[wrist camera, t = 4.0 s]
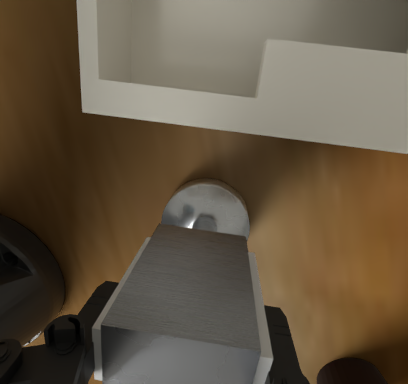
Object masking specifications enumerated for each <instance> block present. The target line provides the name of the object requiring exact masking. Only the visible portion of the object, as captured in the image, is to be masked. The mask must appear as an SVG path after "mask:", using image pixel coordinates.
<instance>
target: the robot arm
mask: <svg viewBox="0 0 408 384" xmlns="http://www.w3.org/2000/svg"><path fill="white" fill-rule="evenodd" d="M150 238H151V237H147V238H146V240H145V241H144V243H143V245H142V246H141V248H140V250H139V251H138V253H137V255H136V256H135V258H134V259H133V261H132V263H131V264H130V266H129V268H128V269H127V271H126V273H125V274H124V276H123V278H122V279H121V281H120V283H116V282H110V281H105V282H104V283H103V284H101V285H100V286H98V287H97V288H96V290H95V291H94V293H93V294H92V295H91V297H90V298H89V300H88V301H87V303H86V304H85V305H84V307H83V308H82V309H81V311H80V312H79V314H78V315H72V314H69V315H63V316H60V317H58V318H56V319H55V317H56V316H57V315H58V313H59V312H60V310H61V308H62V306H63V302H64V297H65V286H64V280H63V276H62V273H61V270H60V268H59V266H58V264H57V262H56V260H55V259H54V257H53V255H52V254H51V253H50V251H49V250H48V249H47V247H46V246H45V245H44V244H43V243H42V242H41V241H40V240H39V239H38V238H37V237H36V236H35V235H34V234H33V233H31V232H30V231H29V230H27V229H26V228H25V227H23V226H22V225H20V224H18V223H17V222H15V221H13V220H11V219H9V218H7V217H5V216H3V215H0V384H88V381H89V379H90V377H91V375H92V373H93V371H94V379H96V380H101V381H102V353H101V323H102V321H103V319H104V318H105V316H106V314H107V313H108V311H109V309H110V307H111V306H112V304H113V302H114V300H115V299H116V297H117V295H118V294H119V292H120V290H121V288H122V287H123V285H124V283H125V281H126V280H127V278H128V276H129V275H130V273H131V271H132V269H133V268H134V266H135V264H136V263H137V261H138V259H139V257H140V256H141V254H142V252H143V250H144V249H145V247H146V245H147V244H148V242H149V240H150ZM248 255H249V263H250V270H251V278H252V285H253V293H254V300H255V308H256V316H257V323H258V331H259V338H260V346H261V355H260V359H259V362H258V366H257V370H256V373H255V377H254V381H253V384H310V383H309V381H308V380H307V378H306V377H305V376H304V375H303V374H302V372H301V369H300V366H299V362H298V358H297V355H296V351H295V347H294V344H293V340H292V337H291V333H290V329H289V325H288V322H287V318H286V316H285V315H284V313H283V312H282V310H281V309H280V308H277V307H271V306H265V305H264V303H263V297H262V292H261V286H260V280H259V274H258V269H257V263H256V257H255V253H251V252H248ZM43 332H44V337H45V344H43V345H38V346H30V347H23V346H25V345H27V344H29V343H30V342H32V341H33V340H35V339H36V338H38V337H39V336H40V335H41V334H42V333H43ZM22 347H23V348H22Z"/></svg>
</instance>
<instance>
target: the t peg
mask: <svg viewBox="0 0 408 384" xmlns="http://www.w3.org/2000/svg"><path fill="white" fill-rule="evenodd" d="M161 223H162V224H160V223H159V225H158V226H157V228H156V230H155V231H154V233H153V235H152V237H151V238H150V240H149V242H148V244H147V245H146V247H145V249H144V250H143V252H142V254H141V256H140V257H139V259H138V261H137V263H136V264H135V266H134V268H133V269H132V271H131V273H130V275H129V276H128V278H127V280H126V281H125V283H124V285H123V287H122V288H121V290H120V292H119V294H118V295H117V297H116V299H115V300H114V302H113V304H112V306H111V307H110V309H109V311H108V313H107V314H106V316H105V318H104V319H103V321H102V323H101V353H102V382H103V384H253V381H254V377H255V373H256V370H257V366H258V362H259V359H260V355H261V346H260V338H259V331H258V323H257V316H256V308H255V300H254V293H253V285H252V278H251V270H250V263H249V255H248V248H247V240H248V236H249V231H250V223H249V218H248V212H247V207H246V204H245V202H244V200H243V198H242V197H241V195H240V194H239V193H238V192H237V190H235V189H234V188H233V187H232V186H230V185H229V184H227V183H225V182H223V181H220V180H217V179H211V178H201V179H195V180H192V181H189V182H187V183H185V184H184V185H182V186H181V187H180V188H178V189H177V190H176V192H175V193H174V194H173V196H172V197H171V199H170V200H169V202H168V204H167V205H166V207H165V209H164V212H163V215H162V221H161Z"/></svg>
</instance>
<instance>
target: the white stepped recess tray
mask: <svg viewBox="0 0 408 384" xmlns="http://www.w3.org/2000/svg"><path fill="white" fill-rule="evenodd" d="M77 20H78V39H79V59H80V79H81V99H82V112H84V113H92V114H99V115H107V116H115V117H123V118H131V119H138V120H146V121H154V122H162V123H170V124H178V125H185V126H193V127H201V128H209V129H217V130H225V131H232V132H240V133H248V134H256V135H264V136H272V137H279V138H287V139H295V140H303V141H311V142H319V143H326V144H334V145H342V146H350V147H358V148H366V149H373V150H381V151H389V152H397V153H405V154H408V0H77Z"/></svg>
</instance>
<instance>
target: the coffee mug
mask: <svg viewBox="0 0 408 384" xmlns="http://www.w3.org/2000/svg"><path fill="white" fill-rule="evenodd" d="M317 384H388V383H387V382H386V380H385V379H384V378H383V376H382V375H381V373H380V372H379V370H378V369H377V368H376V367H375V366H374V365H373V364H371V363H370V362H367V361H365V360H361V359H356V358H344V359H338V360H335V361H332V362H330V363H328V364H327V365H325V366H324V367H323V368H322V369H321V370H320V372H319V373H318V376H317Z"/></svg>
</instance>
